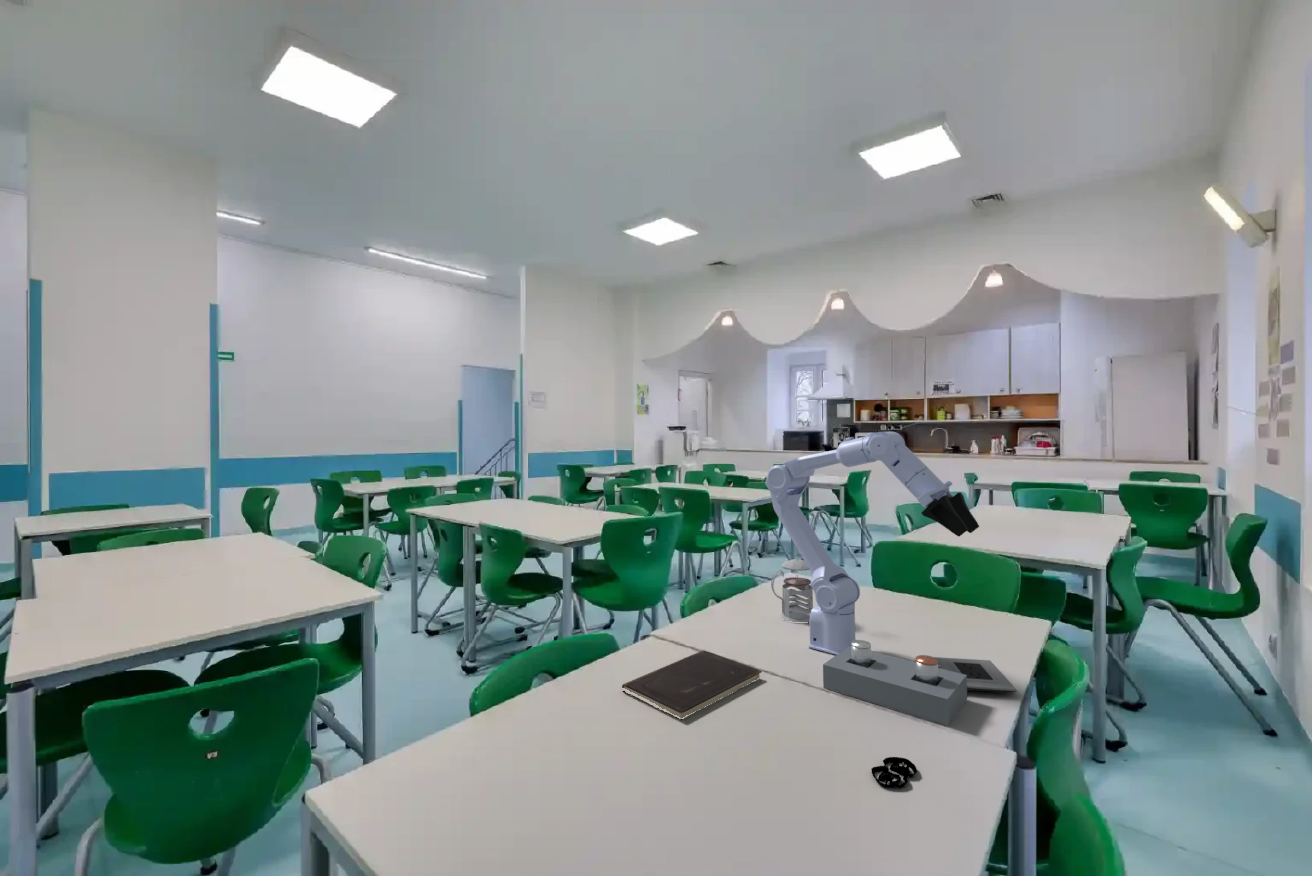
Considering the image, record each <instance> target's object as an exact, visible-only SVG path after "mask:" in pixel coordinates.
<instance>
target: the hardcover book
mask: <svg viewBox="0 0 1312 876" xmlns="http://www.w3.org/2000/svg"><path fill="white" fill-rule="evenodd" d="M762 672H763V671H762V670H761V669H758V668H755V667H752V666H750V665H747V664H744V663H741V662H738V661H735V660H733V659H730V658H727V657H724V656H721V655H718V654H716V653H712V652H711V651H707V650H705V649H704V650H703V649H702V650H701V651H698V652H695V653H693V654H691V655H688V656H687V657H683V658H682V659H679V660H676V661H675V662H674V661H673V662H671V663H669V664H668V665H666V666H663V667H660V668H658V669H657V670H656V669H655V670H653V671H651V672H649V673H646V674H644V675H641V676H640V677H637V678H635V679H632V680H630V681H628V682H625V683H623V684H622V686H621V689H622V688H625V689H627V690H629V691H630V692H633V693H635V694H637V695H638V696H641V697H643V698H645V699H647V700H649V701H650V702H652V703H655V704H656V705H658V706H659V707H661V708H662V709H666V710H667V711H669V712H670V713H672V714H674V715H677V716H679V717H680V718H683V717H685V716H686V715H689V714H691V713H693V712H695V711H697V710H699V709H702V708H704V707H705V706H707V705H709V704H711V703H713V704H715V703H716V702H715V701H717V700H718V699H720V698H722V697H725V696H726V697H728V696H729V695H728V694H730V693H732V692H734V693H735V691H736V690H738V689H740V688H741V687H743V686H745V687H747V686H748V685H747V684H749V683H751V682H752V681H754V680H757V679H758V678H759V679H760V674H761V673H762ZM759 679H758V680H759ZM758 680H757V681H758ZM751 684H752V683H751ZM746 685H747V686H746ZM749 685H750V684H749ZM743 688H744V687H743ZM740 690H741V689H740ZM738 691H739V690H738ZM736 692H737V691H736ZM732 694H733V693H732ZM727 695H728V696H727ZM730 695H731V694H730ZM726 697H725V698H726ZM714 702H715V703H714ZM717 702H718V701H717ZM711 705H712V704H711ZM704 709H705V708H704ZM702 710H703V709H702Z"/></svg>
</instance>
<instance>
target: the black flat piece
mask: <svg viewBox="0 0 1312 876" xmlns="http://www.w3.org/2000/svg"><path fill="white" fill-rule="evenodd" d="M882 763H883V764H884V765H877V766H873V767H871V774H872V776H873V778H874V780H875V782H876V783H878V784H879V785H880V786H881V787H883V788H885V789H887V788H888V789H894V788H896V789H903V788H905V786H906V784H908V783H909V780H908V778H913V777H914V776H915V774H916V773H918V770H917V766H916V764H915V763H913V762H912V761H910V760H909V759H908V758H905V757H899V756H889V757H885V758H884V759H883V760H882ZM888 764H890V765H889V767H888V766H887V765H888ZM911 771H912V772H913V773H911ZM876 773H877V775H875V774H876ZM879 773H880V774H879ZM901 776H902V777H901ZM877 777H878V778H877ZM895 778H896V779H897V780H894V779H895ZM902 780H903V782H902ZM884 782H885V783H884Z"/></svg>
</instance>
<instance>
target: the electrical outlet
mask: <svg viewBox="0 0 1312 876" xmlns="http://www.w3.org/2000/svg"><path fill="white" fill-rule="evenodd" d="M933 657H934V656H933ZM934 658H936V659H937V660H938V667H939V668H941V669H945V670H949V671H953V672H957V673H961V674H965V675H967V691H976V692H978V691H979V692H994V693H1007V694H1009V693H1010V694H1012V693H1016V692H1017V691H1018V689H1017V687H1015V686H1014V685H1013V684H1012V683H1011V681H1009V680H1010V679H1008V678H1007V677H1006V676H1005V675H1004V674H1003V672H1002V671H1000V670H999V668H998V667H997V666H996V665H995V664H994V663H993V662H992V660H990V659H989V660H988V659H977V658H975V659H973V658H954V657H940V656H939V657H938V656H937V657H936V656H935V657H934Z"/></svg>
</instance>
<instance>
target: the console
mask: <svg viewBox="0 0 1312 876" xmlns="http://www.w3.org/2000/svg"><path fill="white" fill-rule="evenodd" d="M822 679H823V680H822V682H823V683H822V685H823V689H827V690H829V691H833V692H836V693H839V694H842V695H846V696H848V697H852V698H855V699H859V700H861V701H865V702H869V703H871V704H875V705H878V706H881V707H885V708H888V709H891V710H893V711H896V712H897V711H898V712H900V713H904V714H907V715H910V716H914V717H917V718H920V719H923V720H927V721H929V722H933V723H936V724H939V725H943V726H946V727H948V726H950V724H951V722H952V721H954V719H955V717H956V716H957V714H958V713H959V712H960V710H961V709H962V708H963V706H964V705H965V703H966V702H967V701H968V690H967V675H965V674H961V673H957V672H953V671H949V670H945V669H941V668H940V667H938V685H937V686H933V685H929V684H926V683H922V682H918V681H916V661H915V662H914V661H912V660H908V659H904V658H900V657H895V656H892V655H888V654H883V653H879V652H876V651H872V650H871V666H870V667H869V668H866V667H862V666H859V665H855V664H851V646H848V647H847V648H846V649H844V650H843V651H841V652H840V653H839V654H837V655H834V656H833V657H831V658H830V659H829V660H827V661H826V662H824V663H822Z"/></svg>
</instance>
